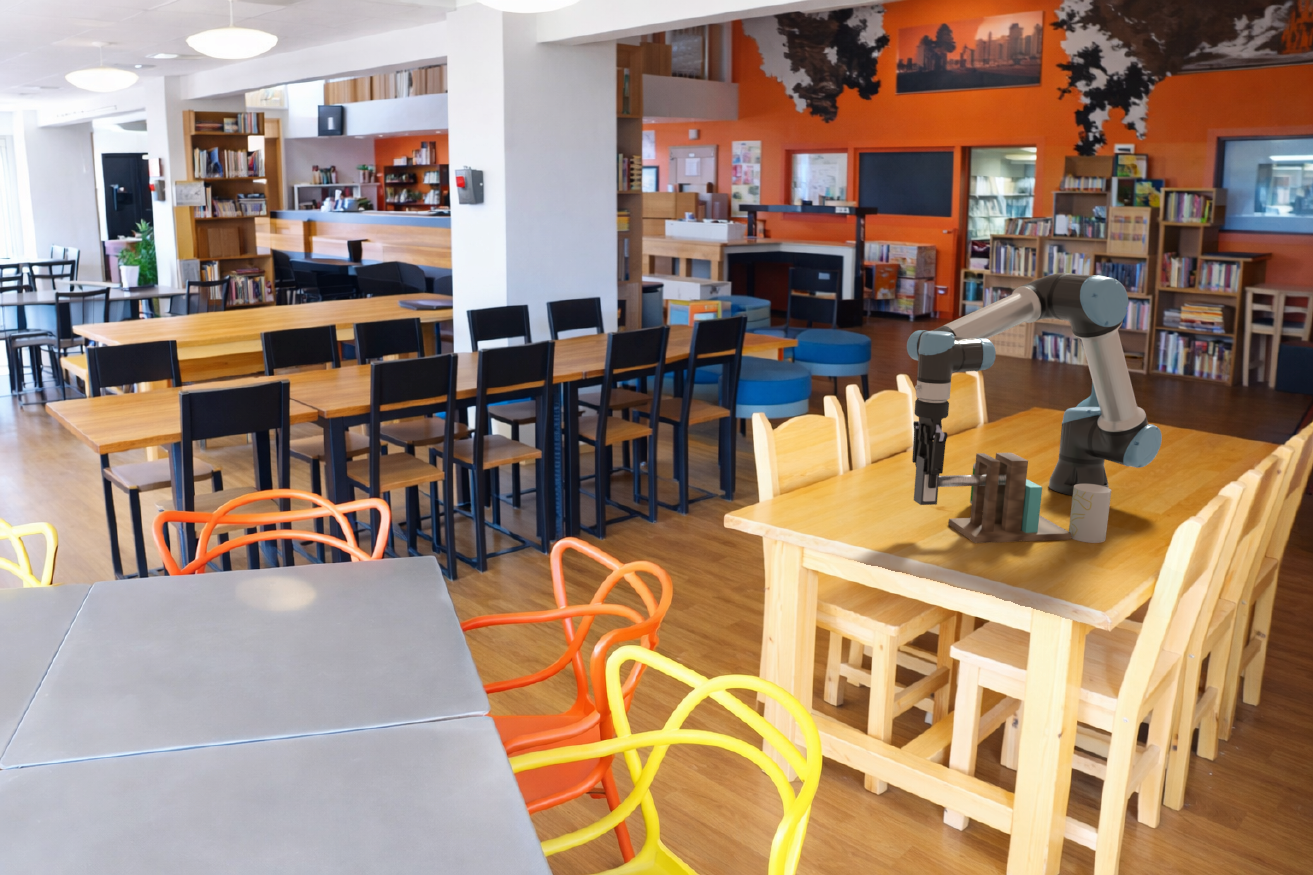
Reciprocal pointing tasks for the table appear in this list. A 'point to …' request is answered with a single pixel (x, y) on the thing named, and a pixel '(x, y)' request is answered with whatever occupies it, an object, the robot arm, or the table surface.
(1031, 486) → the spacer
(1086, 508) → the cup
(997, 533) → the stand
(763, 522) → the table surface
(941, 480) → the shaft
